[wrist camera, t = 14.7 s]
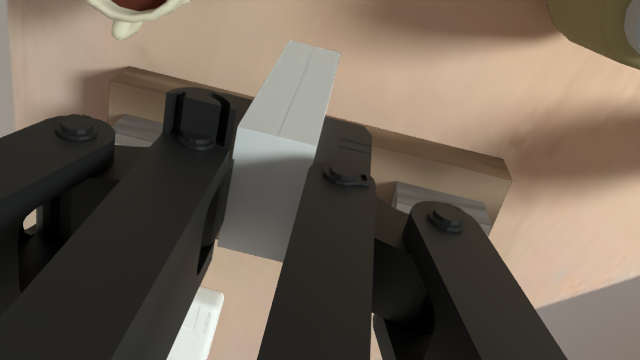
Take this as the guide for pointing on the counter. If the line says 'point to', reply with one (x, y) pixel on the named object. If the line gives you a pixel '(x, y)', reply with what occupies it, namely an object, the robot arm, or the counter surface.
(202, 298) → the soap
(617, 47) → the squeeze bottle
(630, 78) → the counter surface
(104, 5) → the character mug
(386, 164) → the mount
